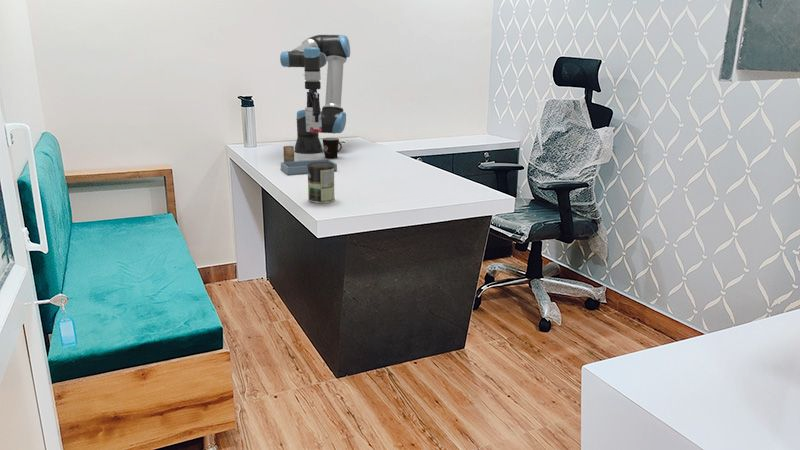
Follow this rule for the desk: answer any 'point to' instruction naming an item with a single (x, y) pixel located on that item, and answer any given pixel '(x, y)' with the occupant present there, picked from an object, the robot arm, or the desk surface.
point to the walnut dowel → (288, 153)
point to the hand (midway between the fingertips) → (313, 127)
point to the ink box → (309, 121)
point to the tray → (301, 166)
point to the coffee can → (321, 182)
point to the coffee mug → (331, 147)
